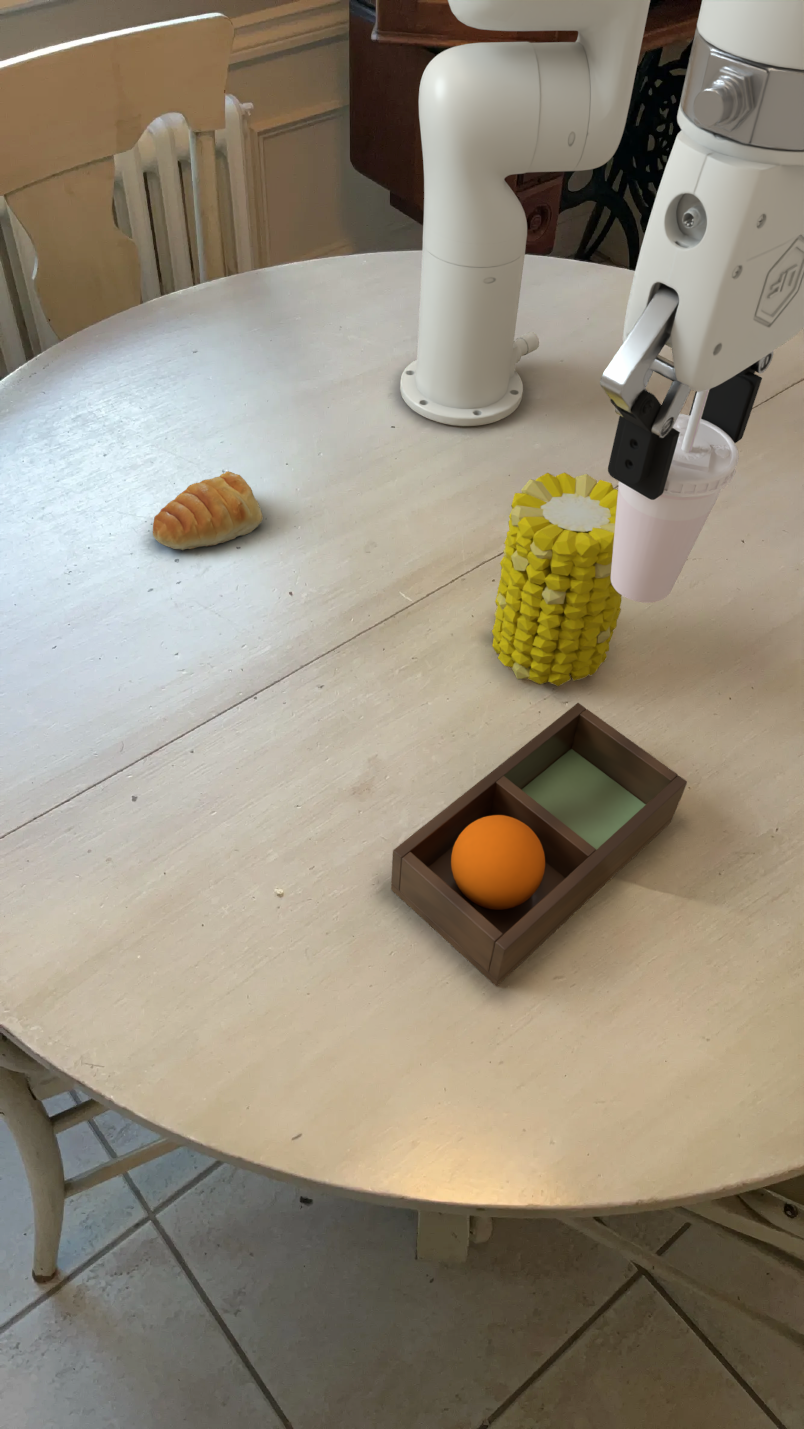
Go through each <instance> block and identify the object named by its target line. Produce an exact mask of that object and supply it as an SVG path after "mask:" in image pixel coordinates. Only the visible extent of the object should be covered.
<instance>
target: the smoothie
mask: <svg viewBox="0 0 804 1429" xmlns="http://www.w3.org/2000/svg"><path fill="white" fill-rule="evenodd" d="M709 390H710V389H709ZM709 390H705V391H701V392H697V394H696V398H695V401H694V405H693V408H692V412H691V415H689V414H687V413H686V414H684V413H680V414H679V416H678V418H677V420H676V422H675V424H674V426H673V428H674V429H675V430H677V431H679V432H680V434H679V437H678V441H677V445H676V448H675V452H674V455H673V459H672V463H671V466H670V470H669V473H668V477H667V481H666V484H665V488H664V491H663V494H662V495H661V496H659V497H658V498H656V499H655V500H651V499H649V498H647V497H645V496H643V495H642V494H640V493H638V492H637V491H635V490H633V489H631V488H630V487H628V486H626V485H625V484H623V483H621V482H620V481H618V485H617V486H618V487H617V490H618V497H617V509H616V520H615V532H614V543H613V555H612V566H611V583H612V585H613V587H614V588H615V590H616V591H617V592H618V593H620V594H621V595H622V596H621V597H624V598H626V599H628V600H630V601H633V602H638V603H647V604H651V603H656V602H661V601H663V600H664V599H666V598H667V597H668V596H669V595H670V594H671V592H672V590H673V588H674V586H675V584H676V582H677V580H678V578H679V576H680V575H681V572H682V570H683V568H684V566H685V564H686V562H687V560H688V558H689V557H690V554H691V552H692V550H693V548H694V547H695V546H694V545H695V544H696V542H697V541H698V540H697V539H698V538H699V536H700V534H701V532H702V530H703V528H704V526H705V524H706V522H707V520H708V517H709V515H710V514H711V512H712V510H713V508H714V506H715V504H716V502H717V499H718V497H719V495H720V493H721V491H722V490H723V489H726V487H727V486H729V484H730V483H732V481H733V479H734V477H735V475H736V472H737V471H736V468H737V466H738V463H739V459H740V453H739V449H738V447H737V444H736V443H734V441H733V440H732V438H731V437H730V436H729V435H728V434H727V433H726V432H724V431H723V430H722V429H720V428H719V427H717V426H716V425H714V424H712V423H710V422H708V421H706V420H703V419H701V417H702V414H703V410H704V407H705V403H706V400H707V396H708V393H709Z"/></svg>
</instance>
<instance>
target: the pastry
mask: <svg viewBox="0 0 804 1429" xmlns="http://www.w3.org/2000/svg"><path fill="white" fill-rule="evenodd" d="M263 518H264V516H263V512H262V508H261V506H260V503H259V501H258V500H257V498H256V497H255V495H254V492H253V490H252V488H251V486H250V485H249V483H248V482H247V481H246V480H245V479H244V478H243V476H242V475H241V474H238V473H234V472H233V471H228V470H227V471H226V472H223V473H221V474H220V475H219V476H215V477H213V478H209V479H203V480H202V481H200V482H194V483H192V484H190V485H188V486H187V487H186V489H185V490H183V491H182V492H181V493H179V494H178V495H177V496H176V497H175V498H174V499H172V500H171V501H169V502H168V503H167V504H166V505H165V506H164V507H162V508H161V509H160V511H158V513H157V514H156V515H154V518H153V523H152V537H153V538H154V539H155V541H157V542H158V543H159V544H161V545H162V546H165V547H167V548H170V549H173V550H182V551H184V550H187V549H188V550H195V549H196V548H201V547H208V548H209V547H212V546H216V545H219V544H222V543H227V542H229V541H231V540H235V539H236V538H237V537H240V536H247V535H248V534H251V533H252V532H254V531H255V529H257V528H258V527H259V526H260V524H262V522H263Z"/></svg>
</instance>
